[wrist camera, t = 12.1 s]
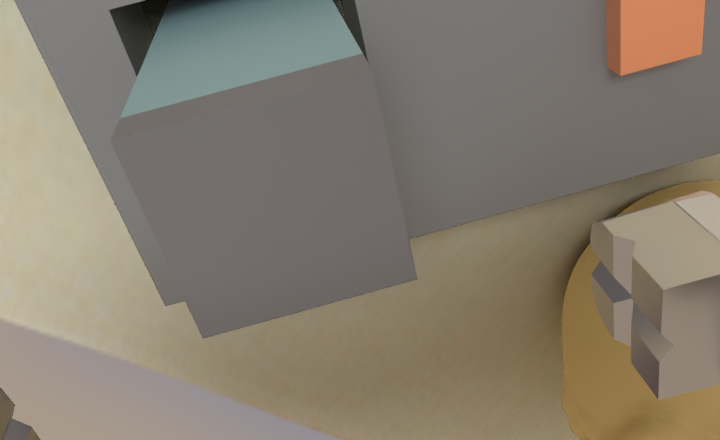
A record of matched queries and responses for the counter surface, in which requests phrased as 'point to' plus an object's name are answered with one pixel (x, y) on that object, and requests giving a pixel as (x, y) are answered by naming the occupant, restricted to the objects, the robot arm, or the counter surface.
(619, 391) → the sculpture
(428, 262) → the counter surface
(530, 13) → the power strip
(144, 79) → the plug
